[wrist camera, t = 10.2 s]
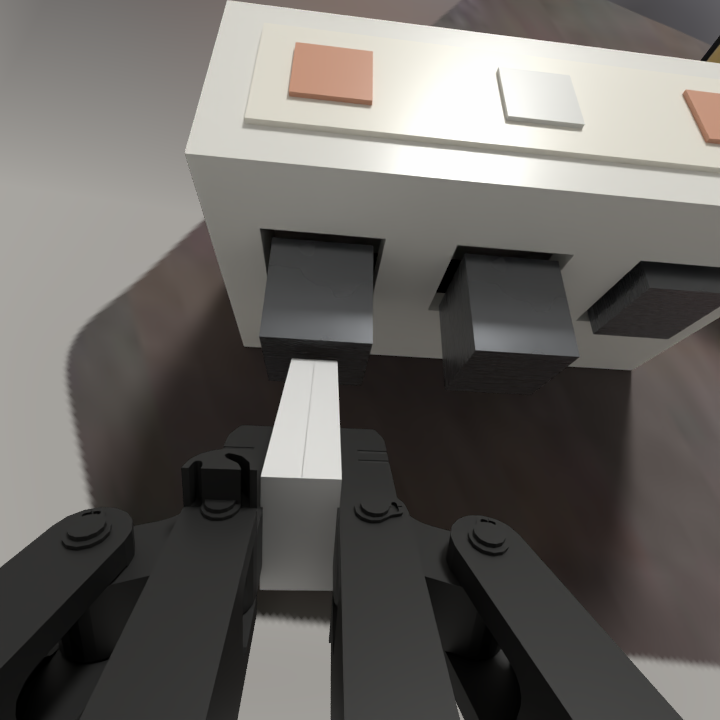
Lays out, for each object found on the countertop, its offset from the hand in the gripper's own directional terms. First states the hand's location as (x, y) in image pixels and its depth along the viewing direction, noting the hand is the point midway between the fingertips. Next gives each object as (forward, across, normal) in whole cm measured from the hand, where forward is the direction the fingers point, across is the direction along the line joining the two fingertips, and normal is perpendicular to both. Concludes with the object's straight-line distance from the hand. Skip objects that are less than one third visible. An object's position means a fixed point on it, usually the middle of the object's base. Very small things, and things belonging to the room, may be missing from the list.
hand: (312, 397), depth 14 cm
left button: (+4, 0, +1) cm, 4 cm away
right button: (+6, +14, +3) cm, 16 cm away
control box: (+12, +7, +2) cm, 14 cm away
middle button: (+4, +7, +1) cm, 8 cm away
